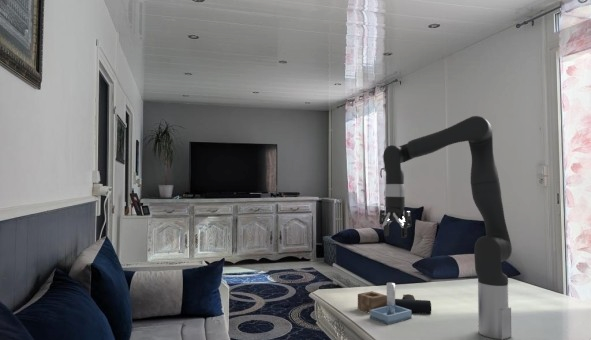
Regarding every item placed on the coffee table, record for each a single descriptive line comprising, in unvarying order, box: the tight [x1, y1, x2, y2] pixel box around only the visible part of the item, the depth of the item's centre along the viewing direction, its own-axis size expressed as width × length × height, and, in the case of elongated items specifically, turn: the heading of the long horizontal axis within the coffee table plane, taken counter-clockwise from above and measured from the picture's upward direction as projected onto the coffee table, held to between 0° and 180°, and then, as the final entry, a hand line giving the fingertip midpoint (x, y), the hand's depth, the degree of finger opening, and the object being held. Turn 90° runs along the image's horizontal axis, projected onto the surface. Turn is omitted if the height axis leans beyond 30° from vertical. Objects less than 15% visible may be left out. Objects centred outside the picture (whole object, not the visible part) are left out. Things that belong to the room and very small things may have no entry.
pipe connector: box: [395, 293, 432, 315], centre depth 164 cm, size 12×5×15 cm
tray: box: [369, 305, 413, 325], centre depth 152 cm, size 9×13×3 cm
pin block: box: [357, 290, 387, 314], centre depth 163 cm, size 8×8×6 cm
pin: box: [386, 282, 396, 315], centre depth 152 cm, size 3×3×12 cm
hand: (394, 236), depth 159 cm, fingers open, 8 cm apart
